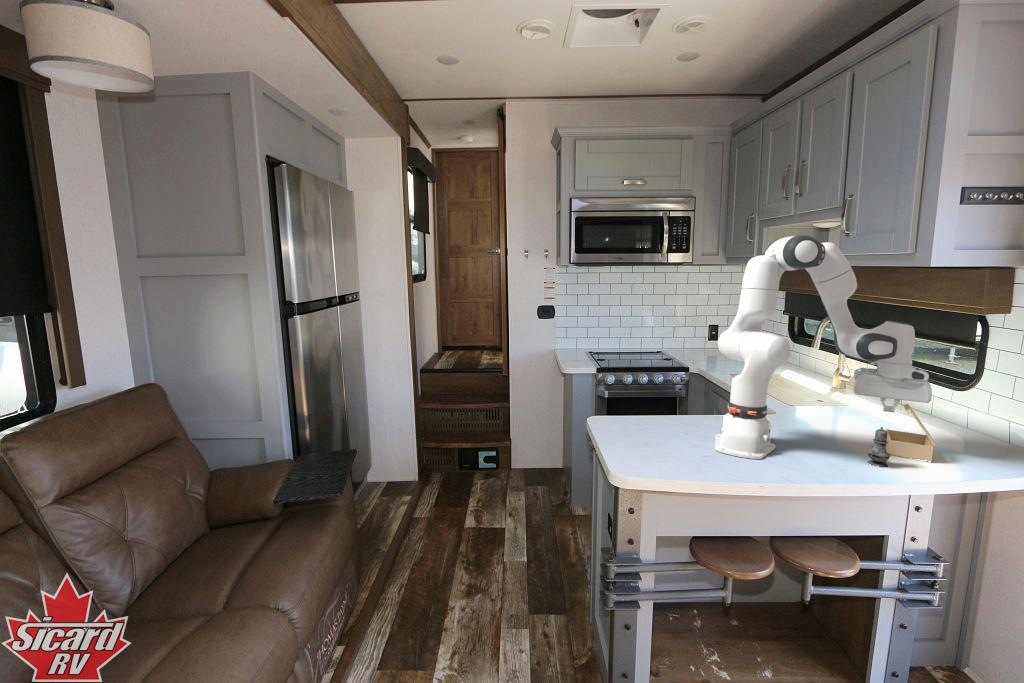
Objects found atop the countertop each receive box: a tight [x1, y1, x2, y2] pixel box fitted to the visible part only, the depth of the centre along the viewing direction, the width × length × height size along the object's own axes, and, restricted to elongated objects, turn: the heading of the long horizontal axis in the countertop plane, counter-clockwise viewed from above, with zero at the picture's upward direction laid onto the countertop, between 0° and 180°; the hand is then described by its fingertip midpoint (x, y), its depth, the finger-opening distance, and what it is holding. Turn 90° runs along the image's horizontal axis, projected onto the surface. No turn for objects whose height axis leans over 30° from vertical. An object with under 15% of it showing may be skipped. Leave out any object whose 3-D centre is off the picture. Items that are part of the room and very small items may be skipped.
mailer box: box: [885, 428, 934, 461], centre depth 159 cm, size 14×11×5 cm
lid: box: [903, 403, 937, 447], centre depth 157 cm, size 14×12×1 cm
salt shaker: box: [866, 426, 892, 468], centre depth 148 cm, size 6×6×12 cm
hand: (888, 411), depth 159 cm, fingers closed
